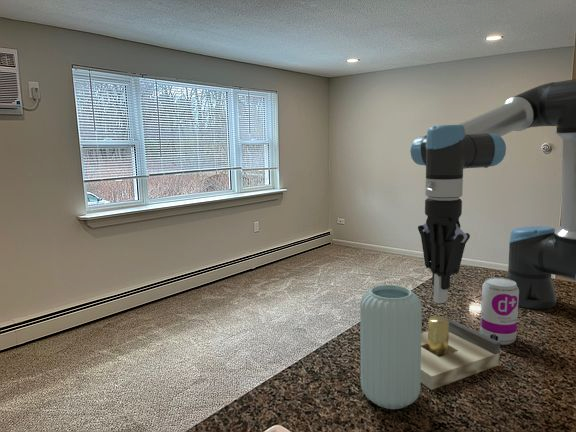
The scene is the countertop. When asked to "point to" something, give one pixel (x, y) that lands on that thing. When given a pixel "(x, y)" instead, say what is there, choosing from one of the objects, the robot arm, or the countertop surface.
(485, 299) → the supplement can
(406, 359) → the vase
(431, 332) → the brass cylinder
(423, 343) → the jig
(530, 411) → the countertop surface
